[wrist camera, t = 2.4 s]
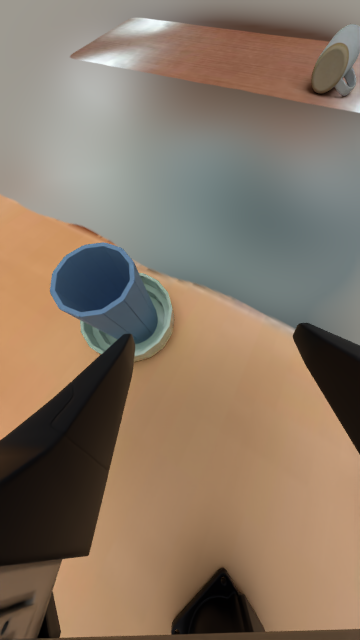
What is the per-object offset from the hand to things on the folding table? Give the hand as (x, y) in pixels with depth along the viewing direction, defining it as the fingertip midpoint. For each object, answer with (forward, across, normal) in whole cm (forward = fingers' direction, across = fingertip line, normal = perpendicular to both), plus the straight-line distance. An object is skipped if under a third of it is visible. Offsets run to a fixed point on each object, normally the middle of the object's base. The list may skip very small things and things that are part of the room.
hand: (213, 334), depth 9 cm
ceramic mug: (+63, -40, -26) cm, 79 cm away
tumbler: (+12, +8, +8) cm, 17 cm away
